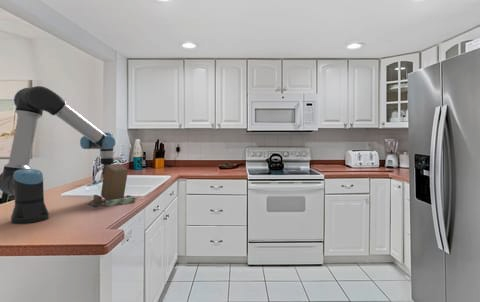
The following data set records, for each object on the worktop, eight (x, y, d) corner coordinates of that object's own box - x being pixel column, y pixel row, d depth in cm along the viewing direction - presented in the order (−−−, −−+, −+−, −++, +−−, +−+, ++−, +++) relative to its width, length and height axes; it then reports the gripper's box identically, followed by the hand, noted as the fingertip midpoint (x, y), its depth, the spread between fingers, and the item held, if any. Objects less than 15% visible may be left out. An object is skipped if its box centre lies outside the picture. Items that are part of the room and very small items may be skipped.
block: (115, 193, 212) (119, 163, 207) (124, 199, 206) (128, 169, 201) (100, 195, 204) (104, 164, 199) (108, 202, 198) (113, 170, 193)
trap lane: (95, 207, 184) (95, 202, 184) (83, 201, 204) (82, 196, 204) (143, 201, 201) (143, 196, 201) (127, 195, 221) (127, 190, 220)
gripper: (116, 157, 206) (118, 196, 208) (109, 156, 216) (110, 193, 218) (104, 158, 201) (105, 198, 203) (97, 157, 212) (98, 195, 213)
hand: (108, 195), depth 210 cm, fingers closed
